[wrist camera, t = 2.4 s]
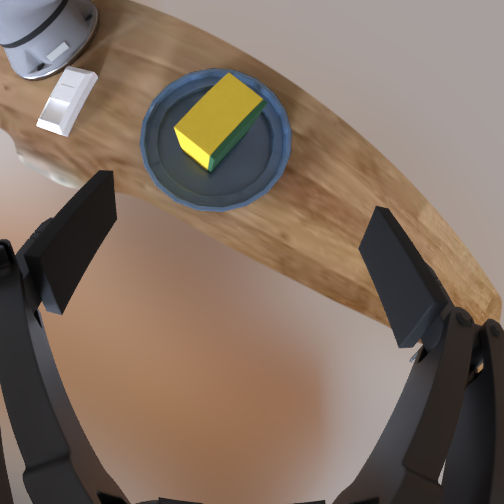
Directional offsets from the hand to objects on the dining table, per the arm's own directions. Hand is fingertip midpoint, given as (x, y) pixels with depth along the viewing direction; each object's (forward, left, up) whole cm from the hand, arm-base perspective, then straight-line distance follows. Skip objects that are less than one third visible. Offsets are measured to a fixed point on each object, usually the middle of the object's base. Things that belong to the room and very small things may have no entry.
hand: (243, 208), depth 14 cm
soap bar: (-26, -2, -22) cm, 34 cm away
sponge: (-6, +6, -21) cm, 23 cm away
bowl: (-6, +6, -22) cm, 23 cm away
